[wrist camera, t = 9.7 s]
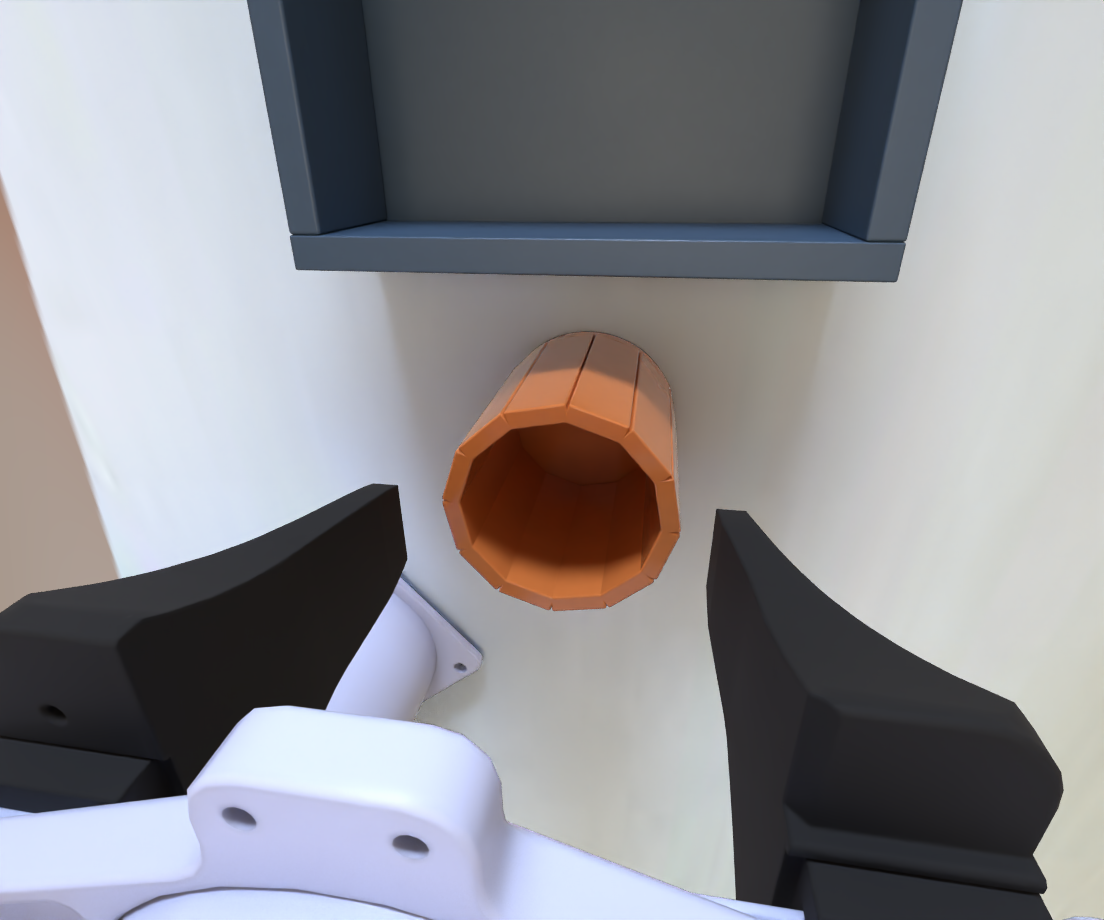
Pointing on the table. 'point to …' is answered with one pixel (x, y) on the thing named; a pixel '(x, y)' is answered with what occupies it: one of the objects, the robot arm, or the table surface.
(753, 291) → the table surface
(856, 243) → the dark grey storage bin
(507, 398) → the cup
